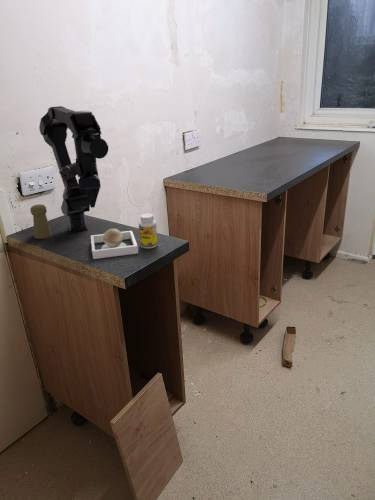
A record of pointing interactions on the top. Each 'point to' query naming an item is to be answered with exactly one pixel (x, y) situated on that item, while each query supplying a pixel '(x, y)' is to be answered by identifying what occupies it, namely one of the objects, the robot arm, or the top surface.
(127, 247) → the white square frame
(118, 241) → the wooden ball
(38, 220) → the cork
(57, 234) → the top surface
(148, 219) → the supplement bottle
